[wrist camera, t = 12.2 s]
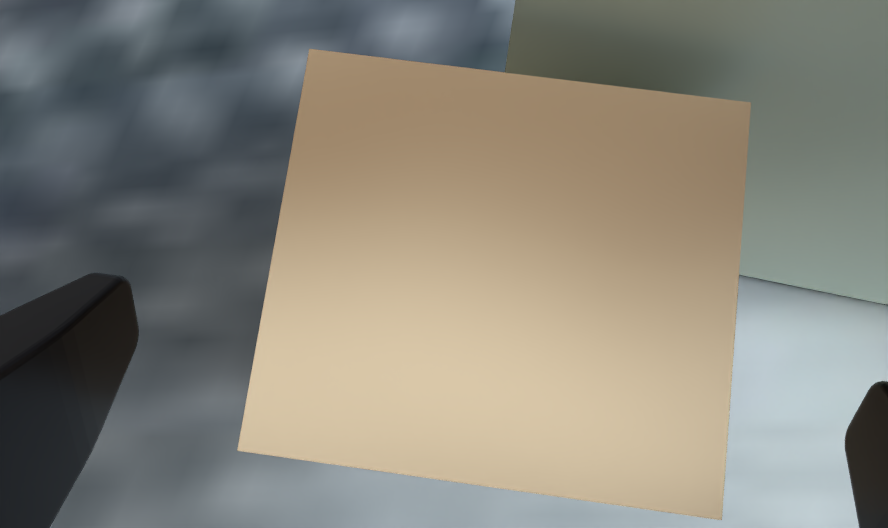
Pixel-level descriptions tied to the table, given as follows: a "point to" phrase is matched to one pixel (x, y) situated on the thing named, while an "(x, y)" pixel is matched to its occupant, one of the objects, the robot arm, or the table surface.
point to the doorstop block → (505, 283)
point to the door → (756, 112)
